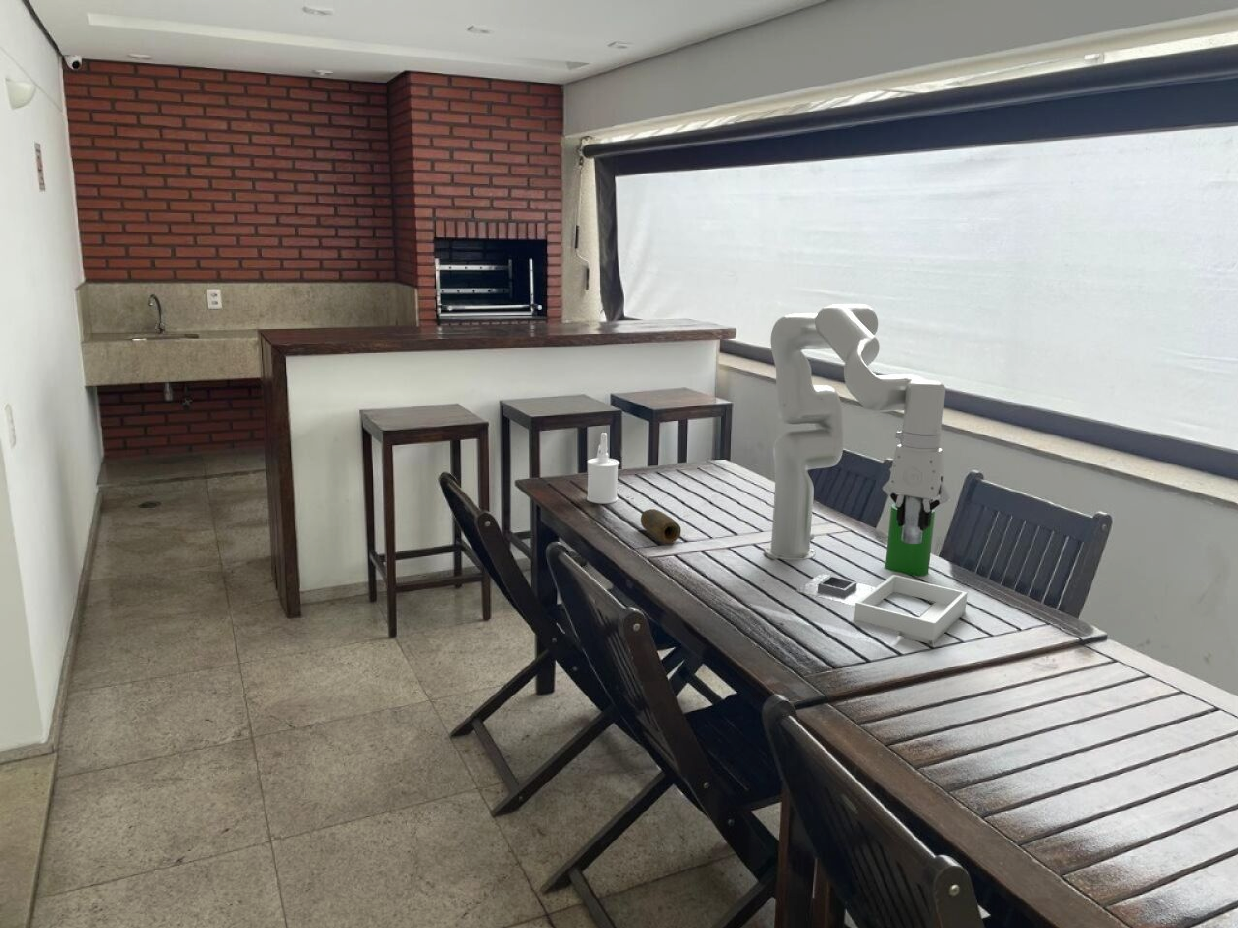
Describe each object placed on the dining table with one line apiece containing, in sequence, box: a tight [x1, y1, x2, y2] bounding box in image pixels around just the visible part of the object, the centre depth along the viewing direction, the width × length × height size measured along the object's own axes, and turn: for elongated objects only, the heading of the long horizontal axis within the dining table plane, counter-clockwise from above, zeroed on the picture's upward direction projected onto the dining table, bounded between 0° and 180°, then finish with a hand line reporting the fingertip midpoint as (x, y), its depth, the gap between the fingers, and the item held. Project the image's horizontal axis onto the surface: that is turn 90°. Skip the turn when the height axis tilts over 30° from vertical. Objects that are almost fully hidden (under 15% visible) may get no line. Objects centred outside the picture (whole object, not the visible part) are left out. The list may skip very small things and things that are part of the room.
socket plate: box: [794, 573, 877, 607], centre depth 217 cm, size 14×14×2 cm
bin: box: [853, 574, 969, 645], centre depth 205 cm, size 22×17×4 cm
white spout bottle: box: [586, 432, 620, 504], centre depth 285 cm, size 10×9×20 cm
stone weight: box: [640, 508, 682, 544], centre depth 253 cm, size 15×7×7 cm, turn 24°
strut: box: [901, 495, 924, 544], centre depth 201 cm, size 4×4×14 cm
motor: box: [884, 502, 936, 578], centre depth 231 cm, size 10×9×20 cm
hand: (912, 526), depth 201 cm, fingers closed on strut, 4 cm apart
